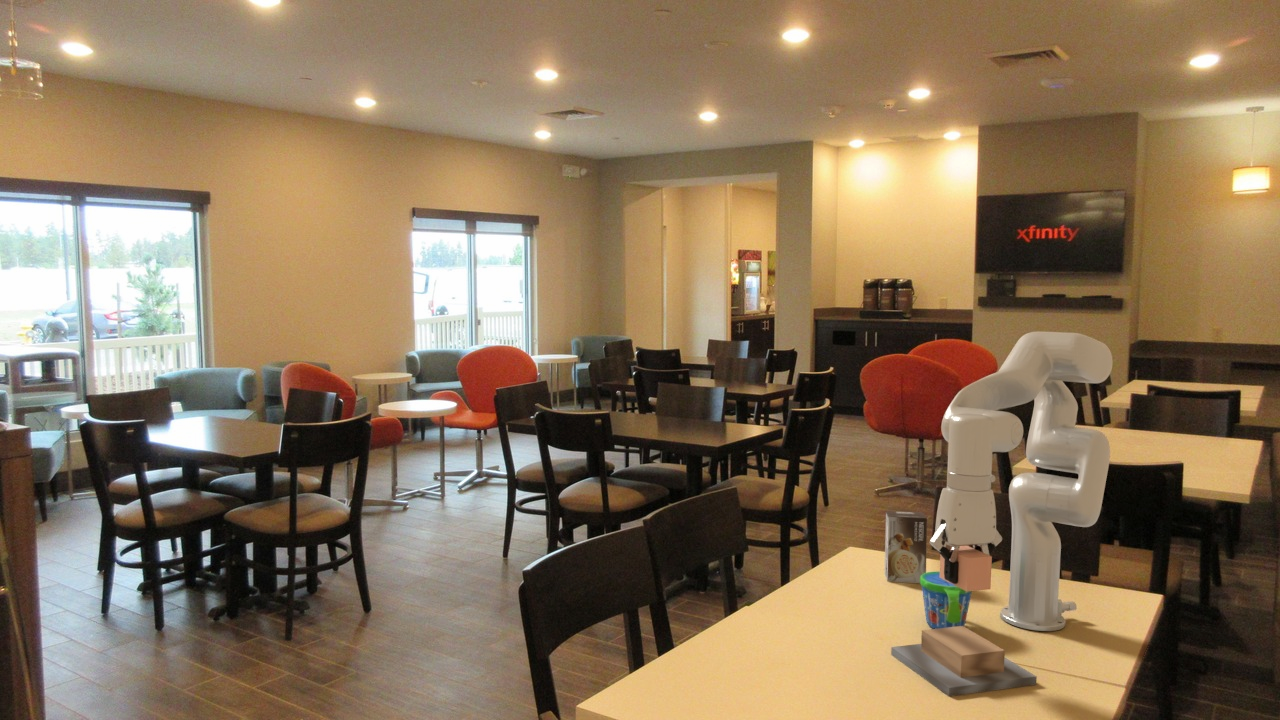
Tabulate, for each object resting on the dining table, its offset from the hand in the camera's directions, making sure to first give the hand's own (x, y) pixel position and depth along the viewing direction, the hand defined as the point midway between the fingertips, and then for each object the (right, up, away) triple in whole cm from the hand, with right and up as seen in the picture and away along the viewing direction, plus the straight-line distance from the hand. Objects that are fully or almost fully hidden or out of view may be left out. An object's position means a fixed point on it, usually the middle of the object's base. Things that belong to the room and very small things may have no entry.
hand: (964, 579), depth 162 cm
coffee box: (+5, -13, +53) cm, 55 cm away
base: (0, -17, +1) cm, 17 cm away
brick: (0, -1, 0) cm, 1 cm away
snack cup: (+4, -16, +22) cm, 28 cm away
